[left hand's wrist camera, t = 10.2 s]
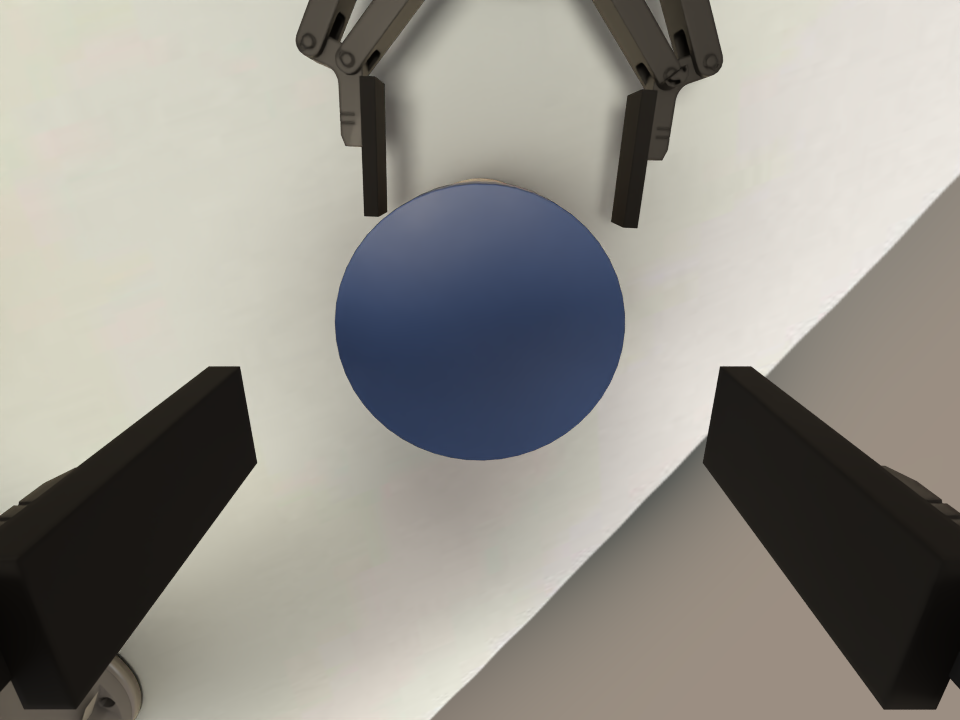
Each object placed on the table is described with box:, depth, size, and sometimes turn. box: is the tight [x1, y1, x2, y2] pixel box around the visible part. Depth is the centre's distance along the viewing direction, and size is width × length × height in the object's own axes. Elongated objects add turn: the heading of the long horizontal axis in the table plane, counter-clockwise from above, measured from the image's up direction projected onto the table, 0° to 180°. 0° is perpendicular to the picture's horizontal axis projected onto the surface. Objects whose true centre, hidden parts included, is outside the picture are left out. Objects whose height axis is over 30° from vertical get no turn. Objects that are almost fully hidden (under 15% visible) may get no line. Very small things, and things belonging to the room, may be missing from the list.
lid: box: [335, 181, 625, 460], centre depth 20 cm, size 11×11×2 cm
